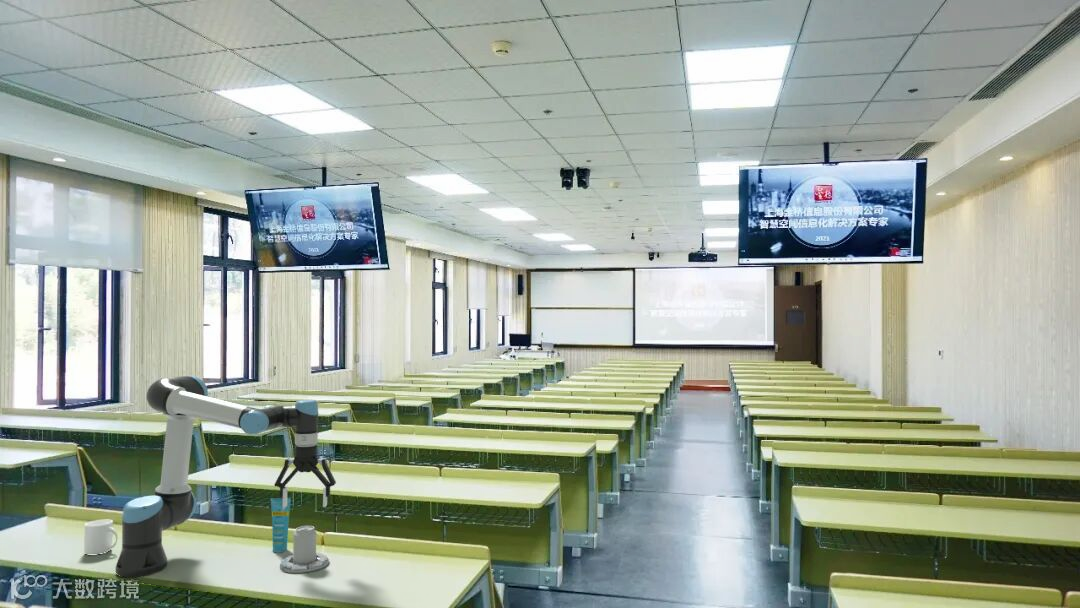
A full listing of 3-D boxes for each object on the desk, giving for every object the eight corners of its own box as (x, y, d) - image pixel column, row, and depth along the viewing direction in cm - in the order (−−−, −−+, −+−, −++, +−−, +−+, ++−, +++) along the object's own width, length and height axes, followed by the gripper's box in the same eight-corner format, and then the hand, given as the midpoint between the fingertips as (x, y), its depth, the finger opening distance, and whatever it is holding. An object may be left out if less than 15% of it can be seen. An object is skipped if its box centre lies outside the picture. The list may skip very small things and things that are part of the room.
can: (288, 565, 230) (289, 530, 230) (300, 558, 237) (301, 523, 237) (308, 567, 228) (309, 531, 228) (320, 559, 235) (320, 525, 236)
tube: (267, 553, 244) (268, 500, 245) (271, 548, 249) (272, 496, 250) (289, 552, 246) (289, 499, 246) (292, 547, 250) (292, 496, 251)
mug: (107, 557, 240) (107, 527, 240) (78, 555, 242) (78, 525, 242) (125, 549, 248) (126, 520, 248) (97, 547, 250) (98, 518, 251)
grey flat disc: (273, 574, 224) (273, 568, 224) (287, 557, 240) (287, 552, 240) (322, 572, 225) (322, 566, 225) (333, 556, 241) (333, 550, 241)
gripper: (265, 447, 229) (264, 509, 228) (340, 446, 231) (339, 508, 230) (272, 443, 236) (271, 503, 236) (344, 442, 238) (343, 502, 238)
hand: (305, 506), depth 233 cm, fingers open, 13 cm apart
